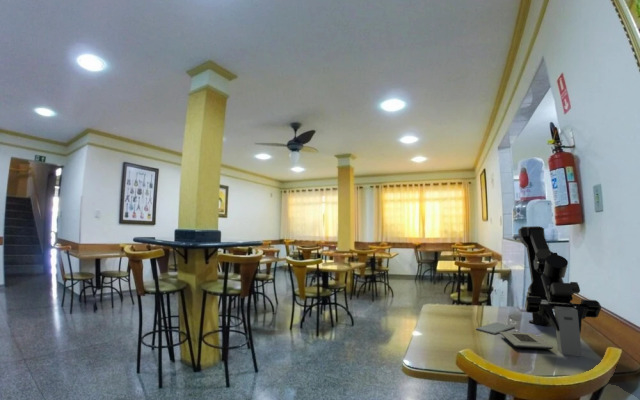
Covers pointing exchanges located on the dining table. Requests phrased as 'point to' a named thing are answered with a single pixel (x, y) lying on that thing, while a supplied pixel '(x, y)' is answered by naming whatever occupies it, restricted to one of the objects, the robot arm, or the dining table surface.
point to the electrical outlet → (526, 340)
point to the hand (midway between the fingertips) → (568, 331)
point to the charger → (568, 331)
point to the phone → (495, 328)
